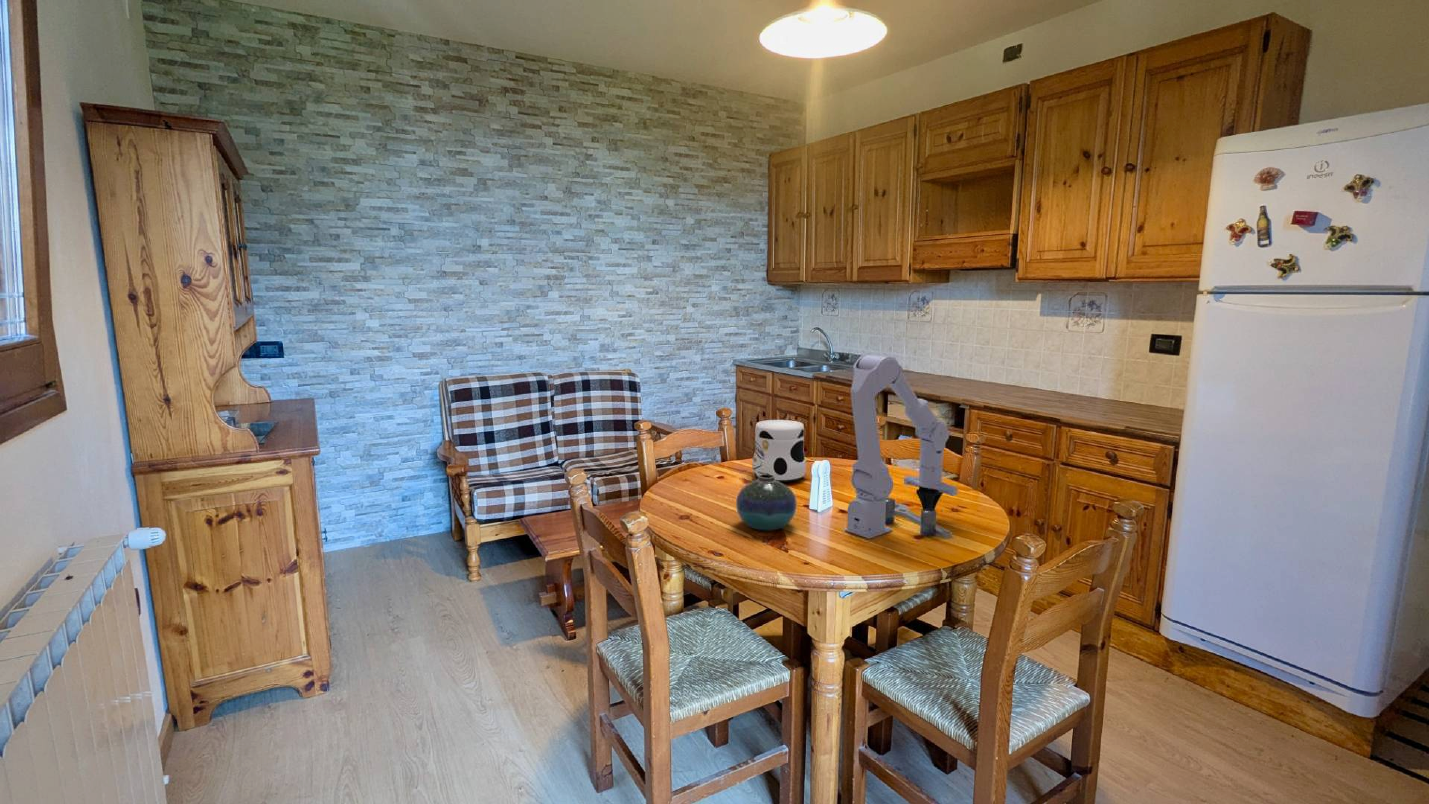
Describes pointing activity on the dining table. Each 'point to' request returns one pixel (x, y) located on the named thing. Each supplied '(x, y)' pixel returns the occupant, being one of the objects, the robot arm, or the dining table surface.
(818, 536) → the dining table surface
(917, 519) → the adjustable wrench
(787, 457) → the milk container
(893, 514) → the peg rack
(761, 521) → the vase
